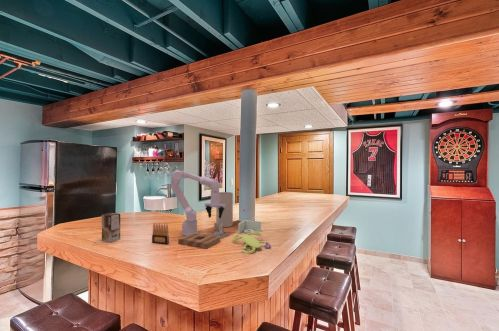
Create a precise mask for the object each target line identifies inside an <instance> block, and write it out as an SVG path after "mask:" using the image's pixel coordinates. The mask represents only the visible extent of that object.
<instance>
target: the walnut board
mask: <svg viewBox="0 0 499 331" xmlns="http://www.w3.org/2000/svg"><path fill="white" fill-rule="evenodd" d="M198 233H199V232H198ZM198 233H192V234H189V235H183V236H182V237H179V238H178V239H177V244H178V245H181V246H182V245H183V246H187V247H193V248H199V249H203V250H207V249H209V248H211V247H213V246H215V245H217V244H219V243H220V242H221V238H220V237H217V236H211V234H203V233H200V234H198Z"/></svg>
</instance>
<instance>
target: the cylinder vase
mask: <svg viewBox="0 0 499 331" xmlns="http://www.w3.org/2000/svg"><path fill="white" fill-rule="evenodd" d="M233 194H234V193H233V192H228V191H227V192H226V191H222V192H220V191H219V204H225V208H224V210H223V213H222V216H221V218H219V209H218V208H220V207H215V208H216V209H215V211H216V212H215V214H216V217H215V219H216V220H215V223H216V222H223V229H224V228H230V227H232V226H233V225H234V220H233V219H234V217H233V216H234V213H233V211H234V210H233V208H234V207H233V205H234V203H233V201H234V200H233V199H234V198H233V197H234V196H233Z"/></svg>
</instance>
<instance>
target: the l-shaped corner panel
mask: <svg viewBox="0 0 499 331" xmlns="http://www.w3.org/2000/svg"><path fill="white" fill-rule="evenodd" d="M237 224H238V225H237V226H238V228H237V229H238V230H237V231H238V232H237V235H240V234H242V233H243V234H244V235H246V234H248V233H251V232H261V233H262V221H259V220H250V219H249V220H248V219H244V220H242V221H241V222H239V223H237Z"/></svg>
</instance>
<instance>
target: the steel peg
mask: <svg viewBox="0 0 499 331" xmlns="http://www.w3.org/2000/svg"><path fill="white" fill-rule="evenodd" d="M213 227H214V228H213V230H214V231H213V233H214V235H216V236H221V235H223V233H224V228H223V222H216V221H215V222H214V223H213Z"/></svg>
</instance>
